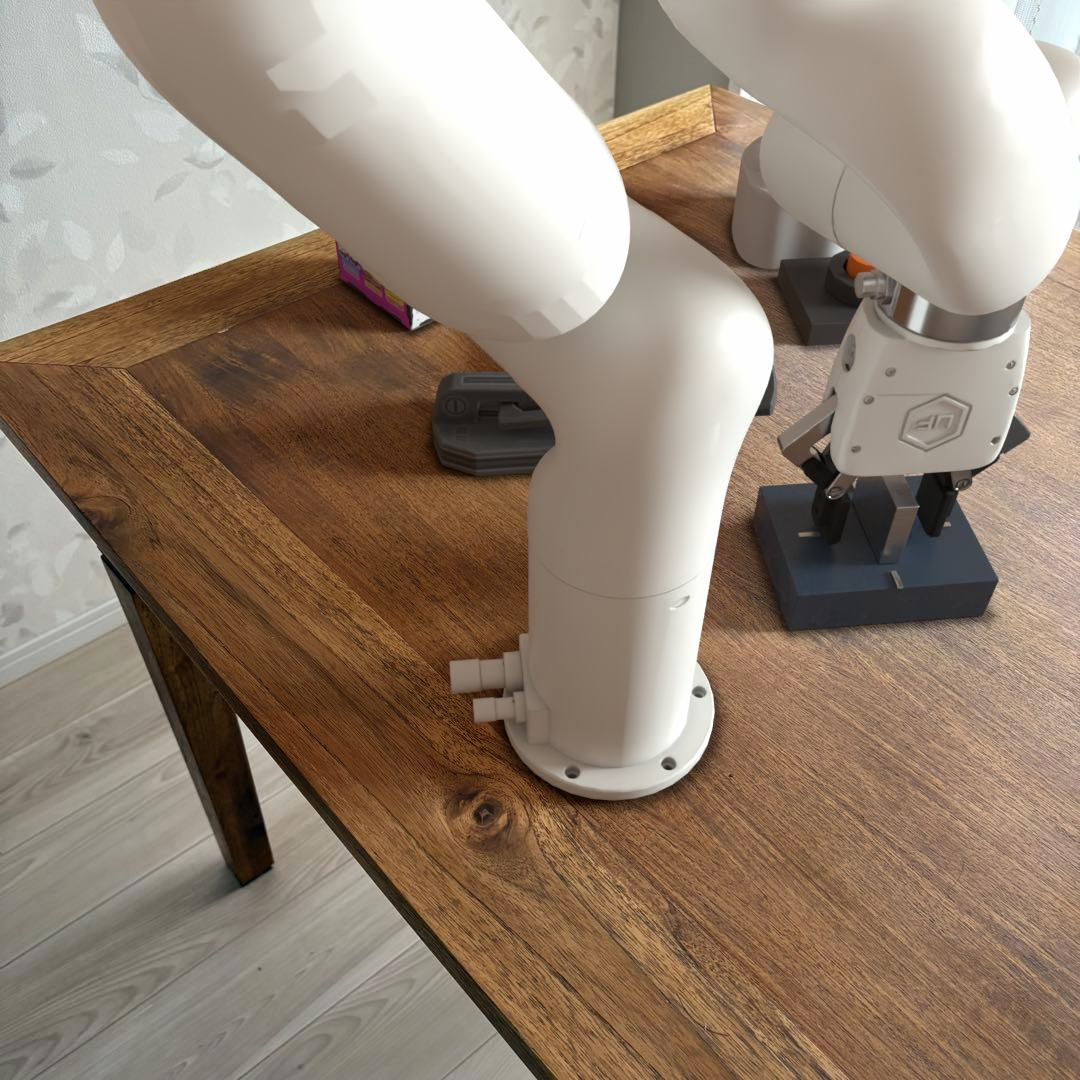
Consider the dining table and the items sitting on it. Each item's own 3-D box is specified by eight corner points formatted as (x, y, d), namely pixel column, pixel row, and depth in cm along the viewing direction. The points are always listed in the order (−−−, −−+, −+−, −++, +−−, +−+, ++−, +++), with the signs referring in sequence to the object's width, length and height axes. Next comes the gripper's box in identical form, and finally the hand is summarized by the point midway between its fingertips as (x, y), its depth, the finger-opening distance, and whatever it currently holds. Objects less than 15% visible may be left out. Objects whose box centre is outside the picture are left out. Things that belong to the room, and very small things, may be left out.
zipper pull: (785, 410, 76) (423, 404, 77) (770, 481, 81) (429, 475, 82) (769, 334, 83) (434, 328, 83) (756, 404, 87) (439, 398, 88)
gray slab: (899, 563, 71) (920, 503, 67) (878, 564, 71) (897, 505, 67) (871, 498, 75) (888, 439, 71) (850, 499, 75) (867, 440, 71)
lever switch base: (788, 632, 71) (798, 594, 69) (751, 521, 78) (759, 483, 76) (984, 617, 72) (1001, 579, 70) (929, 508, 79) (943, 470, 77)
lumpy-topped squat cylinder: (737, 268, 101) (751, 180, 95) (726, 197, 110) (737, 112, 104) (852, 271, 101) (873, 182, 95) (831, 199, 110) (849, 114, 104)
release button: (853, 285, 93) (857, 267, 92) (840, 262, 95) (844, 244, 94) (895, 283, 93) (899, 265, 92) (881, 260, 96) (885, 242, 94)
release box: (806, 346, 93) (815, 306, 90) (776, 280, 100) (784, 241, 97) (945, 338, 94) (958, 298, 91) (906, 273, 101) (917, 234, 98)
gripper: (812, 338, 56) (760, 577, 69) (1137, 320, 58) (1026, 558, 70) (775, 258, 62) (733, 495, 74) (1074, 243, 63) (982, 478, 76)
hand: (876, 523), depth 72 cm, fingers open, 6 cm apart
